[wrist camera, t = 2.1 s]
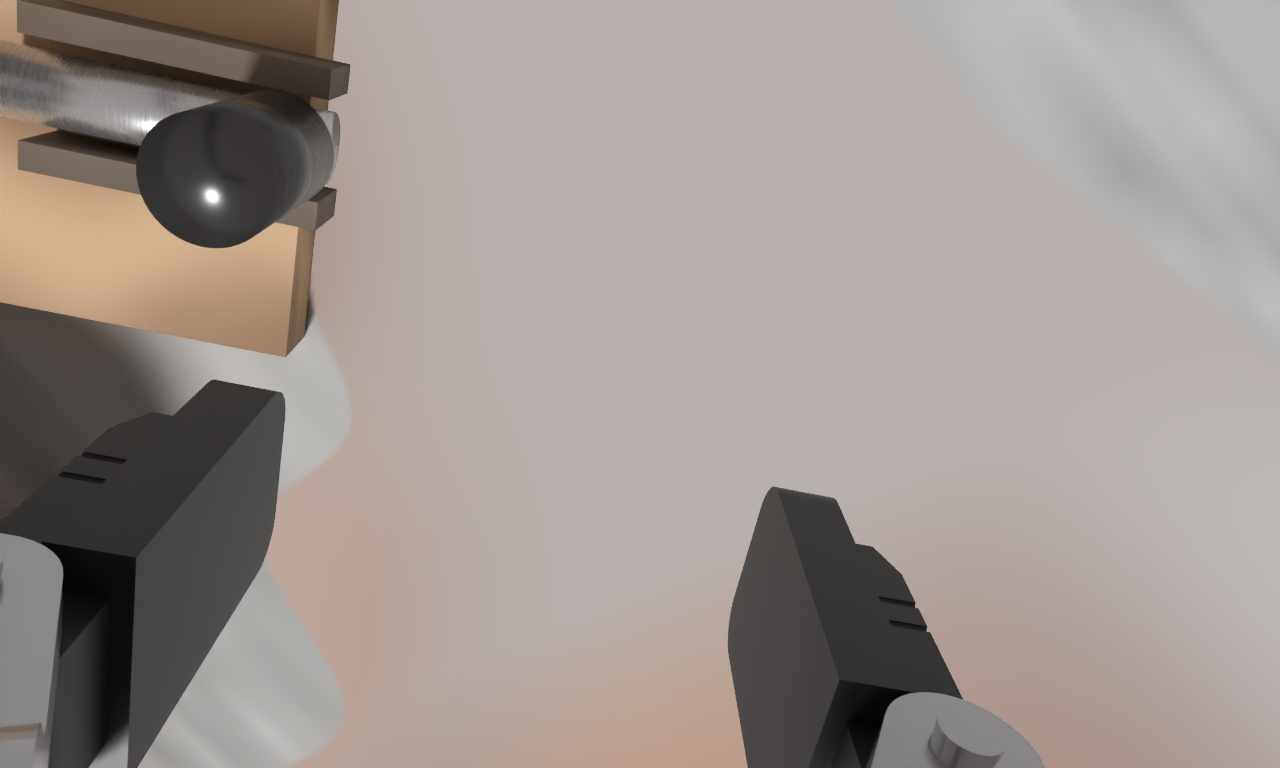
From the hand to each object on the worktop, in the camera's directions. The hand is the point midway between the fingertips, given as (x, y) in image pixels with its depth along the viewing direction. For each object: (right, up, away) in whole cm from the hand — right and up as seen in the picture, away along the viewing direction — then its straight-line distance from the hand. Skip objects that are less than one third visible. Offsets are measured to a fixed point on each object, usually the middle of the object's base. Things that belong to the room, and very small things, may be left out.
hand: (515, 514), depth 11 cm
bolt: (-11, +9, +17) cm, 22 cm away
